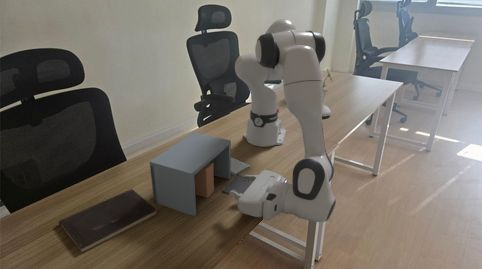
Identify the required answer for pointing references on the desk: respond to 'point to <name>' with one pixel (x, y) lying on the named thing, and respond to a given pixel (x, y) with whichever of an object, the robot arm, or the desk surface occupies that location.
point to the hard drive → (238, 166)
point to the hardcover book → (107, 219)
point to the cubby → (187, 169)
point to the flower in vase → (325, 109)
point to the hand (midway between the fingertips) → (237, 184)
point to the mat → (237, 185)
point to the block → (205, 181)
